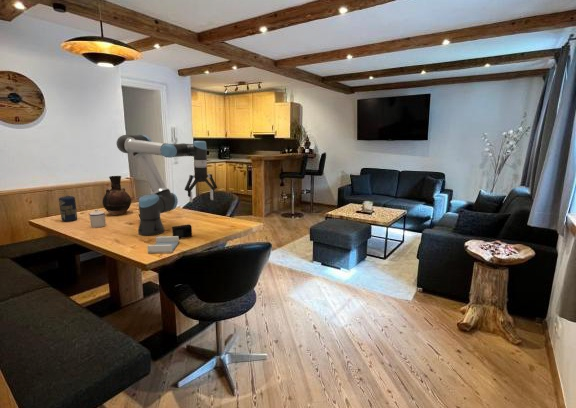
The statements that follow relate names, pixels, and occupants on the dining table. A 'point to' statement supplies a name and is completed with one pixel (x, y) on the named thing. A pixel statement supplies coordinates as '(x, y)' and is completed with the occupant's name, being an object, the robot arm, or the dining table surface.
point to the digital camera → (182, 231)
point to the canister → (68, 208)
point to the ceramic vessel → (116, 198)
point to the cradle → (164, 244)
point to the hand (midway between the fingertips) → (201, 200)
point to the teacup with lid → (97, 218)
